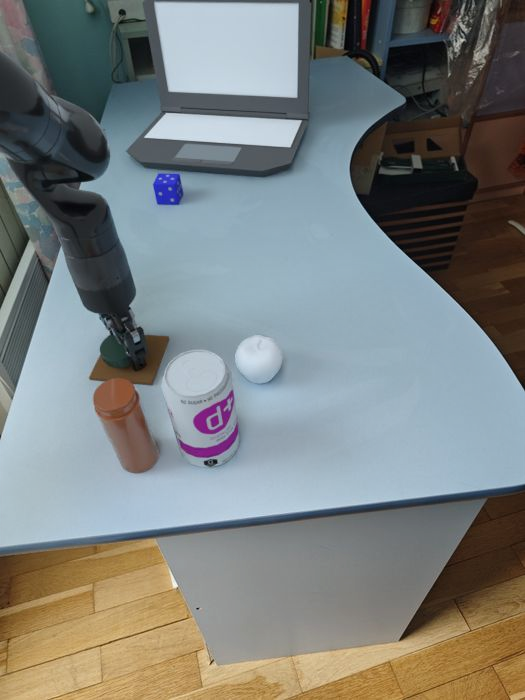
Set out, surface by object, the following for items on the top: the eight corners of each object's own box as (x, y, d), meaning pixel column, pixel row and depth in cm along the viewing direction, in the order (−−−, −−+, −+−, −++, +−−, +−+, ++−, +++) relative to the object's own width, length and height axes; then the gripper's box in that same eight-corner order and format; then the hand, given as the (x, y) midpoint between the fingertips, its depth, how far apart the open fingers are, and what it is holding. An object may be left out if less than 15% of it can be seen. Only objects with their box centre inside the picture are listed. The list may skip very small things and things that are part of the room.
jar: (157, 471, 63) (133, 410, 54) (118, 475, 63) (86, 413, 53) (160, 438, 67) (138, 374, 57) (122, 441, 67) (94, 377, 57)
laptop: (119, 169, 122) (78, 10, 98) (164, 119, 143) (139, -22, 119) (287, 182, 115) (287, 13, 90) (308, 127, 135) (313, -22, 111)
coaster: (152, 385, 74) (151, 382, 73) (89, 380, 75) (88, 377, 74) (169, 338, 80) (169, 336, 80) (112, 334, 82) (111, 331, 81)
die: (183, 193, 113) (179, 173, 109) (178, 205, 109) (174, 184, 106) (162, 193, 113) (158, 173, 110) (157, 204, 110) (152, 184, 106)
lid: (146, 340, 77) (143, 331, 76) (135, 369, 73) (132, 361, 72) (110, 338, 78) (106, 330, 77) (97, 367, 74) (93, 359, 73)
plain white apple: (261, 399, 71) (258, 363, 65) (227, 375, 74) (222, 338, 69) (292, 372, 74) (293, 335, 68) (259, 350, 78) (256, 313, 72)
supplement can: (251, 448, 65) (244, 377, 54) (198, 481, 62) (179, 412, 51) (220, 409, 70) (207, 336, 59) (169, 438, 67) (146, 366, 56)
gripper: (151, 285, 62) (173, 371, 75) (104, 237, 70) (131, 321, 83) (96, 311, 59) (129, 395, 72) (54, 257, 67) (90, 341, 80)
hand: (130, 355), depth 77 cm, fingers closed on lid, 5 cm apart
